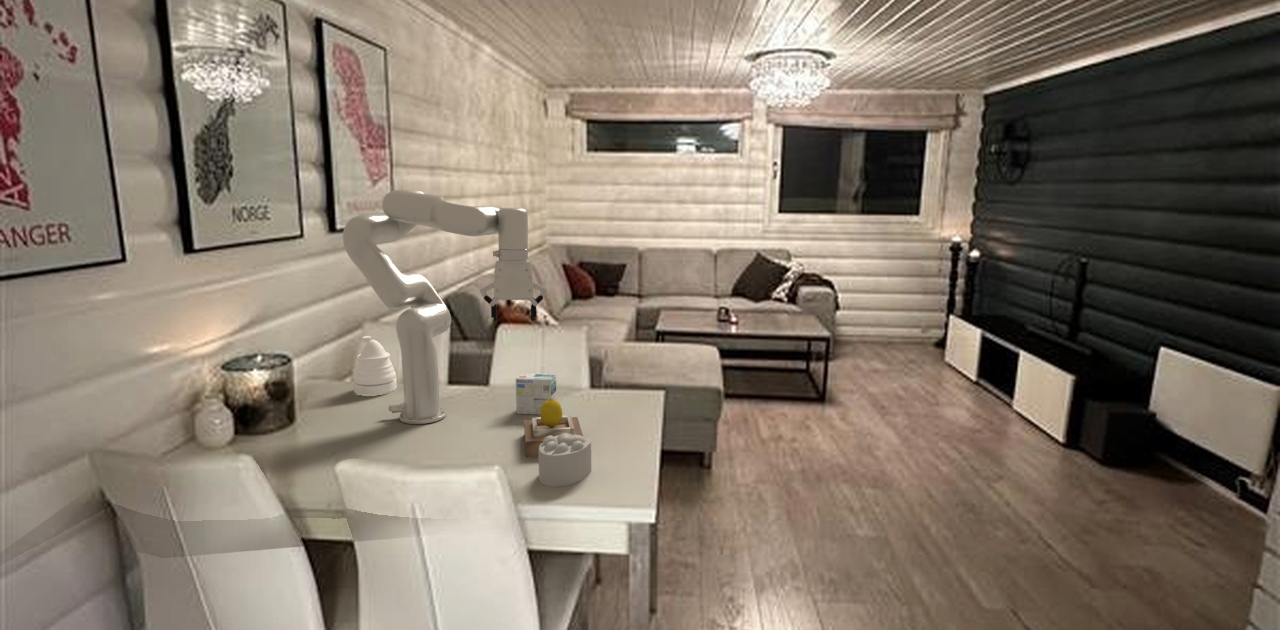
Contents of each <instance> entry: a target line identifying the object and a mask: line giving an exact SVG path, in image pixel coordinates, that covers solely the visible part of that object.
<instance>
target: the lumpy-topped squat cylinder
mask: <svg viewBox="0 0 1280 630" xmlns="http://www.w3.org/2000/svg"><path fill="white" fill-rule="evenodd" d="M591 473H592V440H591V439H590V438H587V437H584V436H583V437H582V436H580V435H572V434H568V433H562V434H561V435H557V436H554V437H553V436H551V435H550V436H547V437H545V438H544V440H543V443H542V444H540V446H539V456H538V480H539V483H541V484H542V485H543V484H544V485H543V486H546V487H551V486H554V488H555V487H556V486H558V487H564V486H565V485H566V486H570V485H573V483H574V484H576V483H577V484H578V483H579V482H581V481H582V480H584V479H585V478H587V477H588V476H589V475H590V474H591ZM569 484H570V485H569ZM566 486H565V487H566Z"/></svg>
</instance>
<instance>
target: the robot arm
mask: <svg viewBox="0 0 1280 630" xmlns="http://www.w3.org/2000/svg"><path fill="white" fill-rule="evenodd" d="M381 209H382V213H381V212H380V213H379V212H378V213H377V212H376V213H363V214H358V215H355V216H353V217H352V218H350V219H349V220H348V221H347V223H346V224H345V226H344V228H343V232H342V243H343V246H344V250H345V252H346V254H347V256H348V257H349V258H350V261H352V262H353V264H354V265H355V266H356V267H357V268H358V270H359V271H360V273H362V275H363V277H364V278H365V280H366V281H367V283H368V284H369V286H370V287H371V288H372V290H373V291H374V293H375V294H376V295H377V297H378V298H379V299H380V301H381V302H382V303H383V305H384V306H385V307H386V308H388V309H391V310H401V309H404V308H408V307H410V308H408V309H406V310H405V311H403V312H402V313H401V314H399V316H398V318H397V319H396V323H395V328H396V329H395V331H396V335H397V338H398V342H399V347H400V348H399V349H400V355H401V368H402V386H403V399H404V401H403V402H400V404H394V403H393V404H388V409H387V410H388V412H391V413H392V414H397V413H400V414H399V416H398V417H399V421H401V422H402V423H405V424H409V425H424V424H431V423H435V422H439V421H441V420H443V419H444V418H446V415H447V411H446V410H445V408H442V407H441V404H440V403H441V401H440V384H439V381H440V380H439V365H438V360H439V359H438V352H437V349H436V346H435V343H434V341H433V338H434V337H437V336H439V335H441V334H444V333H445V332H447V331H448V330H449V328H450V327H451V324H452V315H451V313H450V310H449V308H448V307H447V305H446V303H445V302H444V301H443V299H442V297H441V296H439V294H438V292H437V291H436V289H435V288H434V286H433V285H432V284H431V282H430V281H429V280H428V279H427V278H426V277H425V276H424V275H422V274H421V273H418V272H416V271H415V272H414V271H407V272H402V271H401V270H399V268H398V267H397V265H396V264H395V263H394V261H393V259H392V258H391V257H390V256H389V255H388V254H387V253H386V252H384V251H383V250H382V249H380V248H379V247H378V246H377V245H382V244H383V245H384V244H389V243H393V242H394V243H395V242H397V241H398V240H400V239H402V238H403V237H404V236H406V234H408V233H409V232H410V231H412V230H413V229H414V228H415V227H417V226H423V227H428V228H434V229H436V230H439V231H443V232H446V233H449V234H450V233H451V234H457V235H462V236H467V237H482V236H483V237H484V236H491V235H498V237H497V238H498V249H497V250H493V251H492V256H493V257H497V258H498V260H496V261H495V265H494V272H493V282H491V283H489V284H487V285H485V286H482V287H481V288H480V289H479V292H480V294H481V296H482V297H483V300H484V301H485V302H486V303H487V304H488V305H489V306H490V314H491V315H490V316H491V317H490V318H491V319H492V318H493V322H497V321H498V305H497V302H499V300H501V301H502V300H503V301H504V300H505V301H510V300H511V301H520V300H523V301H524V300H525V301H527V300H528V301H529V302H530V303H531V304H530V321H531V322H533V321H534V320H535V319H534V318H537V306H538V305H539V304H540V303H541V302H542V301H543V299H544V297H545V296H546V294H547V291H548V290H547V288H546V287H544V286H542V285H540V284H538V283H536V282H534V273H533V265H532V261H531V260H529V226H528V225H529V219H528V218H529V214H528V211H527V209H525V208H522V207H500V206H495V205H478V206H470V205H464V204H458V203H451V202H447V200H446V199H445V198H444V197H443V196H440V195H437V194H436V195H435V194H434V195H433V194H427V193H424V192H423V191H420V190H418V189H394V190H391V191H389V192H388V193H387V194H385V196H384V197H383V199H382V202H381ZM492 289H493V295H494V297H493V298H492V297H490V296H489V295H488V293H487V292H489V291H490V290H492ZM534 289H536V290H537V291H539V295H538V296H537V297H536V298H535V297H534Z"/></svg>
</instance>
